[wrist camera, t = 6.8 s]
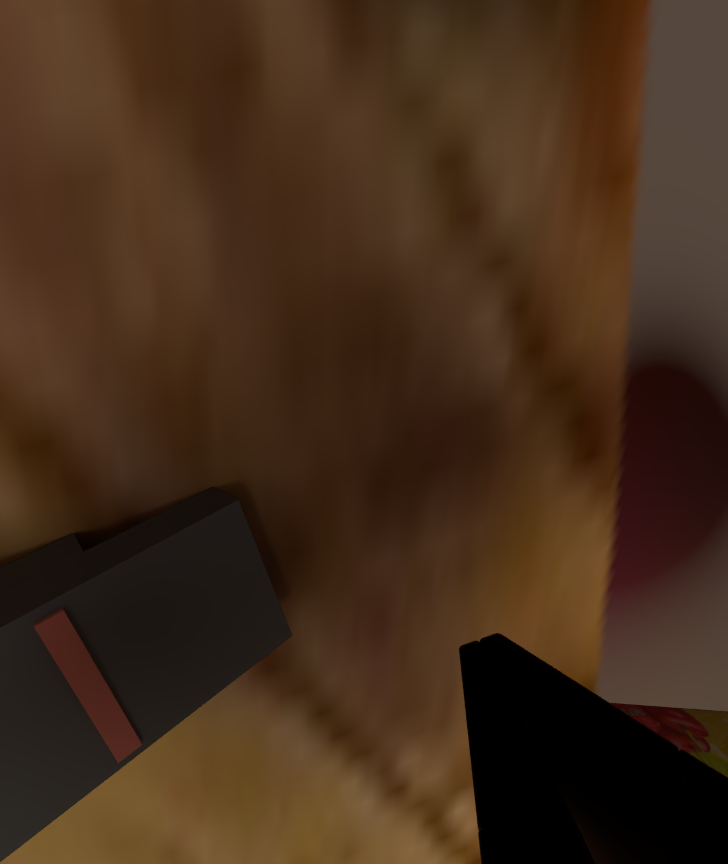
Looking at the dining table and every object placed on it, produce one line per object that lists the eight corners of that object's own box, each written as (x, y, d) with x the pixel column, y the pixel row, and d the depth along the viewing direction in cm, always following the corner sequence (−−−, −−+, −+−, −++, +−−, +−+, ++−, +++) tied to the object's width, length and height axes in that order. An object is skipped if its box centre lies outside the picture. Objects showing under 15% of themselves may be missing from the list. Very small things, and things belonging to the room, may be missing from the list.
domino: (241, 500, 13) (-302, 793, 7) (294, 637, 15) (-121, 961, 9) (212, 486, 15) (-247, 717, 9) (263, 610, 16) (-103, 871, 11)
